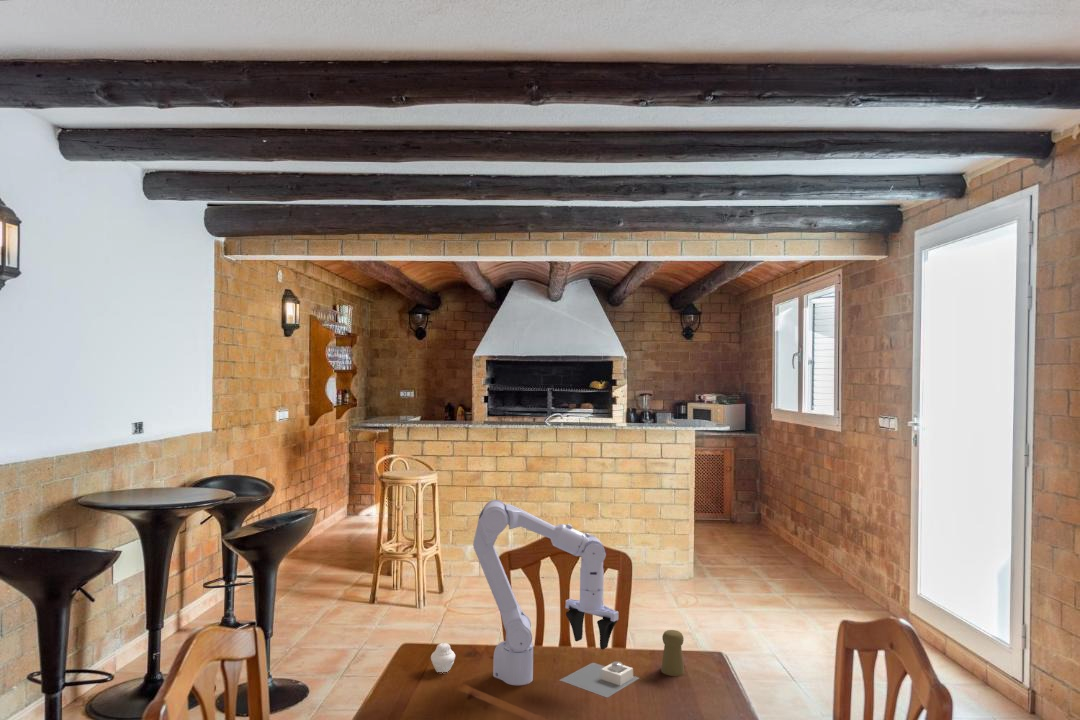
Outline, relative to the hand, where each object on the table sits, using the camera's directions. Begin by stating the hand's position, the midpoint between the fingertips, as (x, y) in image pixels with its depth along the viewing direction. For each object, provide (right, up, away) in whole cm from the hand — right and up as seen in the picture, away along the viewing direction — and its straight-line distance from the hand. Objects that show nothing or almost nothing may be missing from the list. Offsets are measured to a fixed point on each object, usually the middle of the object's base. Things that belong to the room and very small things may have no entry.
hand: (591, 644), depth 172 cm
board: (+2, -9, -1) cm, 10 cm away
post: (+6, -8, 0) cm, 10 cm away
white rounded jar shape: (-37, -9, +6) cm, 38 cm away
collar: (+6, -8, 0) cm, 10 cm away
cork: (+21, -10, +5) cm, 23 cm away
